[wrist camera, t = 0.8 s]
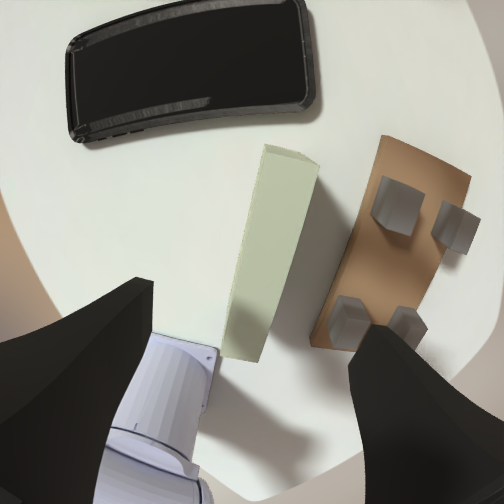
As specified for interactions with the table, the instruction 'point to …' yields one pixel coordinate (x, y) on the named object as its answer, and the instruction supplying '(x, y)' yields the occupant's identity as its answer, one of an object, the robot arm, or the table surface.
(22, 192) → the table surface
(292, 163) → the door panel
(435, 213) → the rail
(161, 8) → the phone
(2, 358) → the robot arm
